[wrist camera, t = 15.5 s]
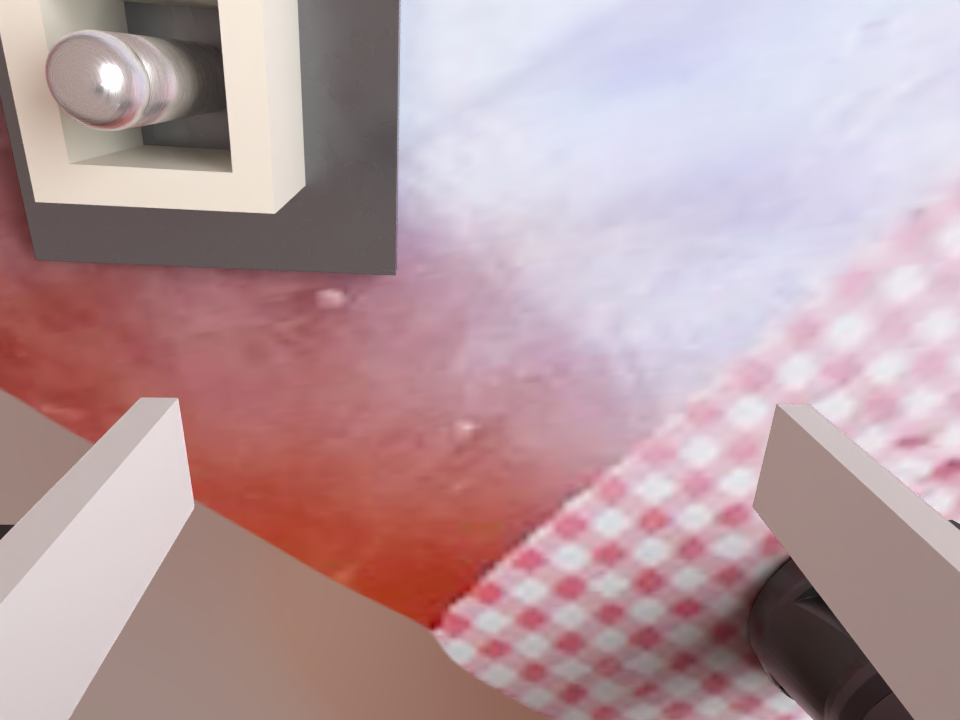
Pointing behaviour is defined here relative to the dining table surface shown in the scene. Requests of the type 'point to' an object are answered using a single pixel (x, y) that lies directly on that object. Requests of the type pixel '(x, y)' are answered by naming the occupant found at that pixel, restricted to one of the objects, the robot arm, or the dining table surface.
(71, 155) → the collar
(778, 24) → the dining table surface
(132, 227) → the post base
